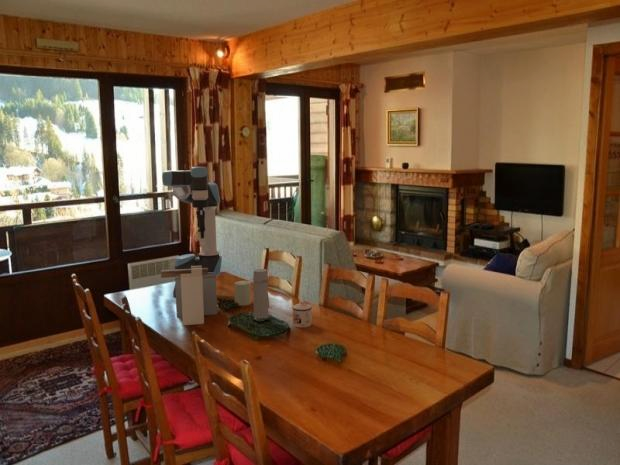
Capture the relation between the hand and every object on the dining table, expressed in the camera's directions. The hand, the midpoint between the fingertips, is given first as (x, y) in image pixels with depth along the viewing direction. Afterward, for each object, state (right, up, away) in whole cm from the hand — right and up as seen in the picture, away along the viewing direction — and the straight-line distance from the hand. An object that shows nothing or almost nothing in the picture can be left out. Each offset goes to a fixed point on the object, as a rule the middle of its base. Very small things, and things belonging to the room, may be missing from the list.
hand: (201, 242), depth 261 cm
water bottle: (+29, -38, +3) cm, 48 cm away
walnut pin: (-7, -16, -3) cm, 18 cm away
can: (+16, -34, +32) cm, 49 cm away
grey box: (-5, -37, +14) cm, 39 cm away
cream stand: (-4, -38, +1) cm, 39 cm away
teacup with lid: (+50, -39, -7) cm, 64 cm away
